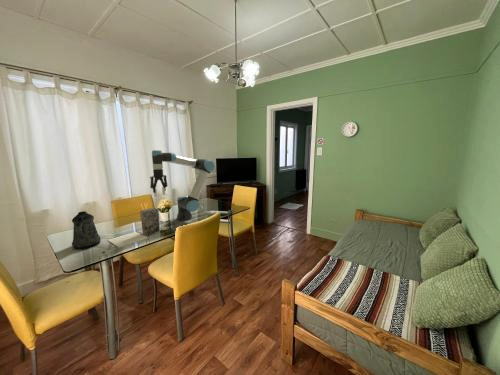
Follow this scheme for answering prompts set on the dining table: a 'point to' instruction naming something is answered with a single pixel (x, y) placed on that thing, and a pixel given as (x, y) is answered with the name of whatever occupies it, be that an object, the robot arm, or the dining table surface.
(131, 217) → the dining table surface
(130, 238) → the mat
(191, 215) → the robot arm
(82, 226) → the black drawstring bag
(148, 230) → the stone block
